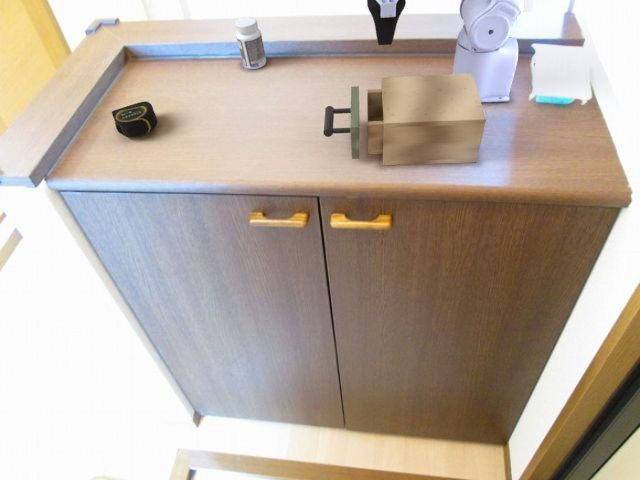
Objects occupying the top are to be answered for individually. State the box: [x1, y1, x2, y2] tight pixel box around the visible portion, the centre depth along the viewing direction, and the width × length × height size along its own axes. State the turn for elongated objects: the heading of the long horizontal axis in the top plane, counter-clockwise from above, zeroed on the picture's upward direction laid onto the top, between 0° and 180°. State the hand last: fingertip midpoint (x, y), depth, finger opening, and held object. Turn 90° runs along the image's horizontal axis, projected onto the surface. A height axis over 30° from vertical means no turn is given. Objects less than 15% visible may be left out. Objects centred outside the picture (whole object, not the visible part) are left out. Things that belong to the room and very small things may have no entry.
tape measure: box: [111, 101, 158, 138], centre depth 79 cm, size 7×7×4 cm
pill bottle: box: [235, 16, 267, 70], centre depth 89 cm, size 5×5×8 cm
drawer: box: [323, 85, 384, 160], centre depth 70 cm, size 17×10×6 cm, turn 87°
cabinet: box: [380, 73, 487, 166], centre depth 69 cm, size 14×12×8 cm
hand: (384, 42), depth 74 cm, fingers closed
